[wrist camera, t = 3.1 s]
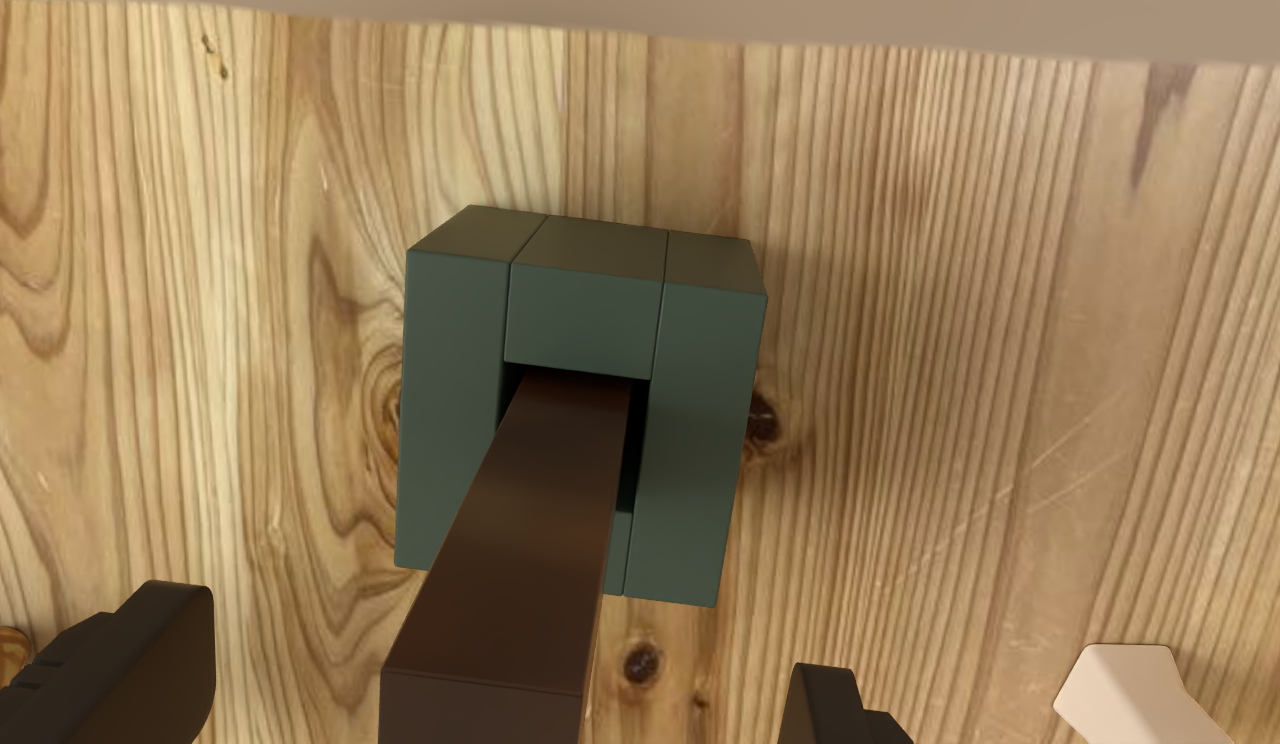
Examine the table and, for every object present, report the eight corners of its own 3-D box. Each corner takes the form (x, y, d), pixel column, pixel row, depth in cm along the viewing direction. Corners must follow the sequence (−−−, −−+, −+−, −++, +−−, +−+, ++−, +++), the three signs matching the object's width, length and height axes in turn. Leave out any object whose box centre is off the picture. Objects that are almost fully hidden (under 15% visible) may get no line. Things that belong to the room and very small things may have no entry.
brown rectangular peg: (641, 320, 26) (583, 694, 11) (631, 401, 27) (564, 853, 12) (555, 309, 26) (379, 667, 11) (548, 390, 27) (373, 829, 12)
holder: (750, 240, 25) (768, 295, 20) (709, 494, 28) (715, 609, 22) (467, 203, 25) (405, 248, 20) (452, 461, 28) (392, 568, 22)
